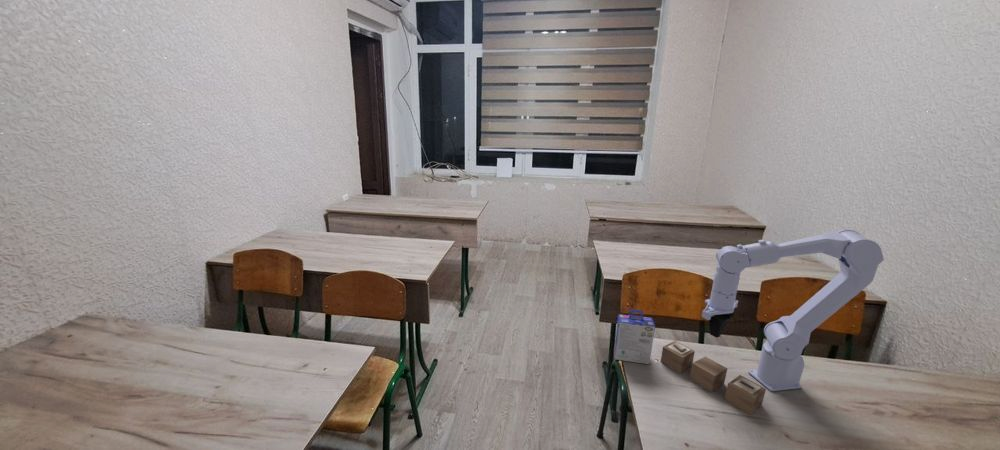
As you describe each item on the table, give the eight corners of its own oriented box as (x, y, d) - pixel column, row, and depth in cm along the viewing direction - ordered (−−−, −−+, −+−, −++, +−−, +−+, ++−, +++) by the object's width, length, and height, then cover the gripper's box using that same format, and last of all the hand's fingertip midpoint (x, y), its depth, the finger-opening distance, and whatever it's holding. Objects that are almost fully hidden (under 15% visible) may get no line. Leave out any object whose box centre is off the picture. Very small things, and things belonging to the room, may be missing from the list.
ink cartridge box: (647, 353, 113) (654, 310, 109) (650, 365, 108) (657, 319, 104) (613, 349, 115) (618, 305, 111) (614, 360, 110) (620, 315, 106)
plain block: (702, 371, 106) (705, 356, 105) (723, 384, 101) (727, 368, 100) (689, 379, 103) (692, 363, 102) (711, 392, 98) (714, 375, 97)
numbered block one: (736, 391, 99) (740, 373, 97) (761, 405, 94) (766, 387, 93) (724, 400, 96) (728, 382, 94) (749, 415, 91) (754, 396, 89)
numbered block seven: (672, 355, 113) (675, 339, 112) (691, 366, 108) (695, 349, 107) (660, 361, 110) (663, 345, 108) (679, 373, 105) (682, 356, 104)
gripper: (723, 279, 109) (714, 322, 113) (694, 290, 101) (686, 335, 105) (749, 289, 103) (739, 333, 107) (721, 301, 96) (711, 348, 99)
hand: (714, 335), depth 106 cm, fingers closed
